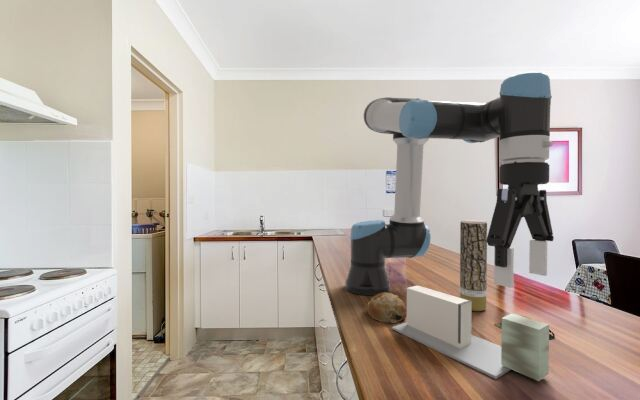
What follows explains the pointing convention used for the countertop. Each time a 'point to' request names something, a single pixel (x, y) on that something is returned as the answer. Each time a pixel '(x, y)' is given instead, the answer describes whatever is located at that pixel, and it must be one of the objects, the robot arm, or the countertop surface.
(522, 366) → the pale green block
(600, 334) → the countertop surface
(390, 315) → the bread roll
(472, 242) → the paper tube
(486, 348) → the block
